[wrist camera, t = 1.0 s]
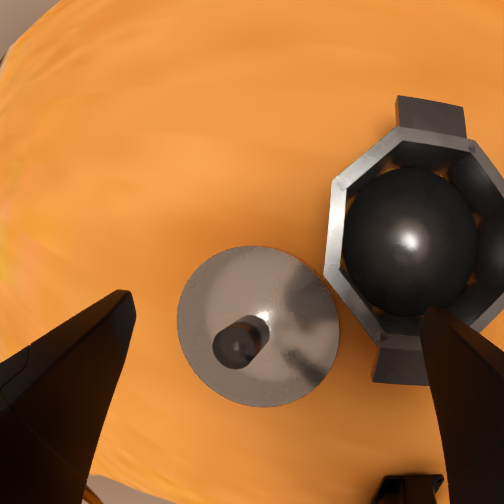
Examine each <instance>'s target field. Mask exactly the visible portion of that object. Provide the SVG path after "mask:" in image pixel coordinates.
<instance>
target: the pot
mask: <svg viewBox="0 0 504 504" xmlns="http://www.w3.org/2000/svg"><path fill="white" fill-rule="evenodd" d="M395 110H396V127H395V128H394V129H393V130H391V131H390V132H389V133H388V134H387V135H386V136H384V137H383V138H382V139H381V140H380V141H378V142H377V143H376V144H375V145H374V146H373V147H371V148H370V149H369V150H368V151H367V152H365V153H364V154H363V155H362V156H361V157H359V158H358V159H357V160H356V161H355V162H354V163H352V164H351V165H350V166H349V167H348V168H346V169H345V170H344V171H343V172H342V173H341V174H339V175H338V176H337V177H336V178H335V179H333V180H332V181H333V182H332V187H331V201H330V213H329V225H328V236H327V246H326V255H325V264H324V273H323V274H324V277H325V278H326V279H327V281H328V282H329V283H330V284H331V286H332V287H333V288H334V290H335V291H336V292H337V294H338V295H339V296H340V298H341V299H342V300H343V301H344V303H345V304H346V305H347V307H348V308H349V309H350V311H351V312H352V313H353V315H354V316H355V317H356V319H357V320H358V321H359V323H360V324H361V325H362V327H363V328H364V329H365V331H366V332H367V334H368V335H369V336H370V338H371V339H372V340H373V342H374V343H375V344H376V346H377V350H376V354H375V359H374V363H373V367H372V372H371V378H372V382H377V383H389V384H402V385H419V386H429V382H428V378H427V374H426V369H425V364H424V358H423V352H422V347H421V342H420V337H419V325H420V323H421V321H422V318H423V316H424V314H425V312H426V310H427V308H428V307H429V306H441V307H443V308H444V309H446V310H447V311H449V312H450V313H451V314H453V315H454V316H456V317H457V318H458V319H460V320H461V321H463V322H464V323H465V324H467V325H468V326H470V327H471V328H472V329H474V330H475V331H476V332H478V333H480V332H481V331H482V330H483V329H484V328H485V327H486V326H487V325H488V324H489V323H490V322H491V321H492V320H493V319H494V318H495V317H496V316H497V315H498V314H499V313H500V312H501V311H502V310H503V309H504V179H503V178H502V176H501V175H500V173H499V172H498V171H497V169H496V168H495V166H494V165H493V164H492V162H491V161H490V160H489V158H488V157H487V156H486V154H485V153H484V152H483V150H482V149H481V148H480V147H479V145H478V144H477V143H476V141H474V140H471V139H467V136H466V126H465V118H464V111H463V107H460V106H455V105H451V104H446V103H441V102H436V101H431V100H425V99H419V98H413V97H406V96H399V95H398V96H397V99H396V103H395ZM388 168H396V170H392V171H389V172H386V173H384V174H382V173H383V172H384V171H385V170H386V169H388ZM381 174H382V175H381ZM437 174H438V175H437ZM379 175H380V176H379ZM439 175H442V176H443V177H444V178H445V179H444V178H443V177H441V176H439ZM358 193H359V194H358ZM357 194H358V196H357V197H356V199H355V200H354V202H353V204H352V205H351V208H350V210H349V213H348V215H347V219H346V222H345V212H346V204H347V203H348V202H349V201H350V200H351V199H353V198H354V197H355V196H356V195H357ZM344 224H345V228H344ZM343 235H344V236H343ZM342 245H343V246H344V255H345V260H346V264H347V267H348V270H349V272H350V275H351V277H352V278H351V277H350V276H349V274H348V273H347V272H346V271H345V269H344V268H343V267H342V265H341V255H342ZM470 276H471V277H470ZM469 278H470V279H469ZM352 279H353V280H352ZM367 298H368V299H369V300H370V301H371V302H372V303H374V304H375V305H377V306H378V307H379V308H381V309H383V310H386V311H388V312H383V311H375V309H374V308H373V306H372V305H371V304H370V302H369V301H368V300H367Z"/></svg>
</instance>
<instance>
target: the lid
mask: <svg viewBox="0 0 504 504" xmlns="http://www.w3.org/2000/svg"><path fill="white" fill-rule="evenodd" d="M177 330H178V337H179V341H180V344H181V348H182V350H183V353H184V355H185V357H186V359H187V361H188V363H189V365H190V366H191V368H192V369H193V371H194V372H195V373H196V374H197V376H198V377H199V378H200V379H201V380H202V381H203V382H204V383H205V384H206V385H207V386H208V387H209V388H211V389H212V390H213V391H215V392H216V393H218V394H219V395H221V396H223V397H225V398H227V399H229V400H231V401H233V402H236V403H239V404H243V405H247V406H253V407H275V406H280V405H285V404H288V403H291V402H294V401H296V400H298V399H300V398H302V397H304V396H305V395H307V394H308V393H309V392H311V391H312V390H313V389H314V388H315V387H317V386H318V385H319V384H320V382H321V381H322V380H323V379H324V378H325V376H326V375H327V373H328V372H329V370H330V368H331V366H332V364H333V362H334V359H335V357H336V353H337V349H338V343H339V333H340V330H339V317H338V312H337V308H336V305H335V302H334V299H333V297H332V295H331V293H330V291H329V289H328V287H327V286H326V285H325V283H324V282H323V280H322V279H321V278H320V277H319V275H318V274H317V273H316V272H315V271H314V270H313V269H312V268H311V267H309V266H308V265H307V264H306V263H305V262H303V261H302V260H300V259H298V258H297V257H295V256H293V255H291V254H289V253H287V252H284V251H281V250H278V249H275V248H270V247H264V246H244V247H236V248H232V249H228V250H226V251H223V252H221V253H218V254H216V255H215V256H213V257H211V258H209V259H208V260H207V261H205V262H204V263H203V264H202V265H201V266H200V267H199V268H198V269H197V270H196V271H195V272H194V273H193V274H192V276H191V277H190V278H189V280H188V282H187V283H186V285H185V287H184V289H183V292H182V294H181V297H180V301H179V305H178V312H177Z"/></svg>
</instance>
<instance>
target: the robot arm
mask: <svg viewBox="0 0 504 504" xmlns="http://www.w3.org/2000/svg"><path fill="white" fill-rule="evenodd" d="M135 321H136V310H135V305H134V301H133V297H132V294H131V292H130V291H128V290H120V289H118V290H116V291H114V292H112V293H111V294H109V295H107V296H106V297H104V298H102V299H101V300H99V301H98V302H96V303H94V304H93V305H91V306H89V307H88V308H86V309H85V310H83V311H81V312H80V313H78V314H77V315H75V316H73V317H72V318H70V319H69V320H67V321H65V322H64V323H62V324H61V325H59V326H58V327H56V328H54V329H53V330H51V331H50V332H48V333H47V334H45V335H44V336H42V337H40V338H39V339H37V340H36V341H34V342H33V343H31V345H28V346H27V347H25V348H24V349H22V350H21V351H19V352H18V353H16V354H14V355H13V356H11V357H10V358H8V359H6V360H5V361H3V362H1V363H0V504H81V503H82V499H83V495H84V491H85V487H86V483H87V478H88V475H89V471H90V468H91V464H92V460H93V457H94V453H95V450H96V447H97V443H98V440H99V437H100V433H101V430H102V427H103V424H104V421H105V418H106V415H107V412H108V409H109V406H110V403H111V400H112V397H113V394H114V391H115V388H116V385H117V382H118V380H119V377H120V374H121V371H122V369H123V366H124V363H125V359H126V356H127V352H128V348H129V344H130V340H131V336H132V332H133V328H134V325H135ZM419 337H420V342H421V347H422V352H423V358H424V364H425V369H426V374H427V378H428V382H429V386H430V390H431V394H432V398H433V402H434V406H435V411H436V415H437V420H438V425H439V430H440V435H441V440H442V446H443V452H444V458H445V464H446V471H447V479H448V489H449V499H450V504H504V352H503V351H502V350H501V349H499V348H498V347H497V346H495V345H494V344H493V343H491V342H490V341H489V340H487V339H486V338H485V337H483V336H482V335H481V334H479V333H478V332H476V331H475V330H474V329H472V328H471V327H470V326H468V325H467V324H465V323H464V322H463V321H461V320H460V319H458V318H457V317H456V316H454V315H453V314H451V313H450V312H449V311H447V310H446V309H444V308H443V307H441V306H429V307H428V308H427V310H426V312H425V314H424V316H423V318H422V321H421V323H420V325H419ZM439 479H440V480H439ZM388 480H389V481H388ZM443 481H444V477H443V475H432V476H387V477H385V478H383V480H382V482H381V484H380V486H379V488H378V490H377V492H376V493H375V495H374V497H373V499H372V501H371V503H370V504H437V501H436V497H435V494H436V492H437V491H438V489H439V487H440V486H441V484H442V483H443Z"/></svg>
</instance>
